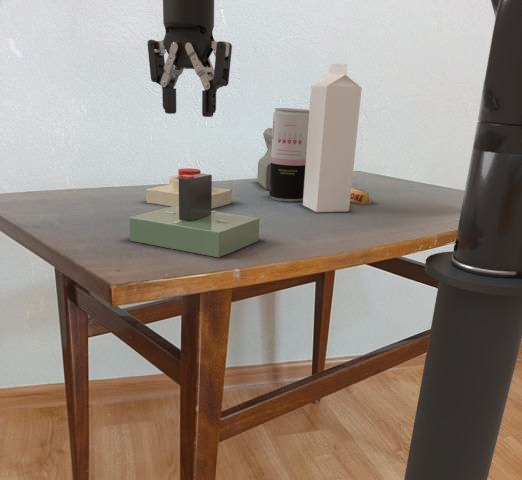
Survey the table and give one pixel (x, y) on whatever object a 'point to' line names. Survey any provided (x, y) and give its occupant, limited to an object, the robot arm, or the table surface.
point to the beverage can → (288, 154)
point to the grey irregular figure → (265, 161)
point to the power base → (170, 194)
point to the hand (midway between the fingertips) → (189, 114)
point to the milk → (331, 141)
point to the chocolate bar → (360, 197)
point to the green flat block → (195, 231)
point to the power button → (188, 172)
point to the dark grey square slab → (195, 196)
